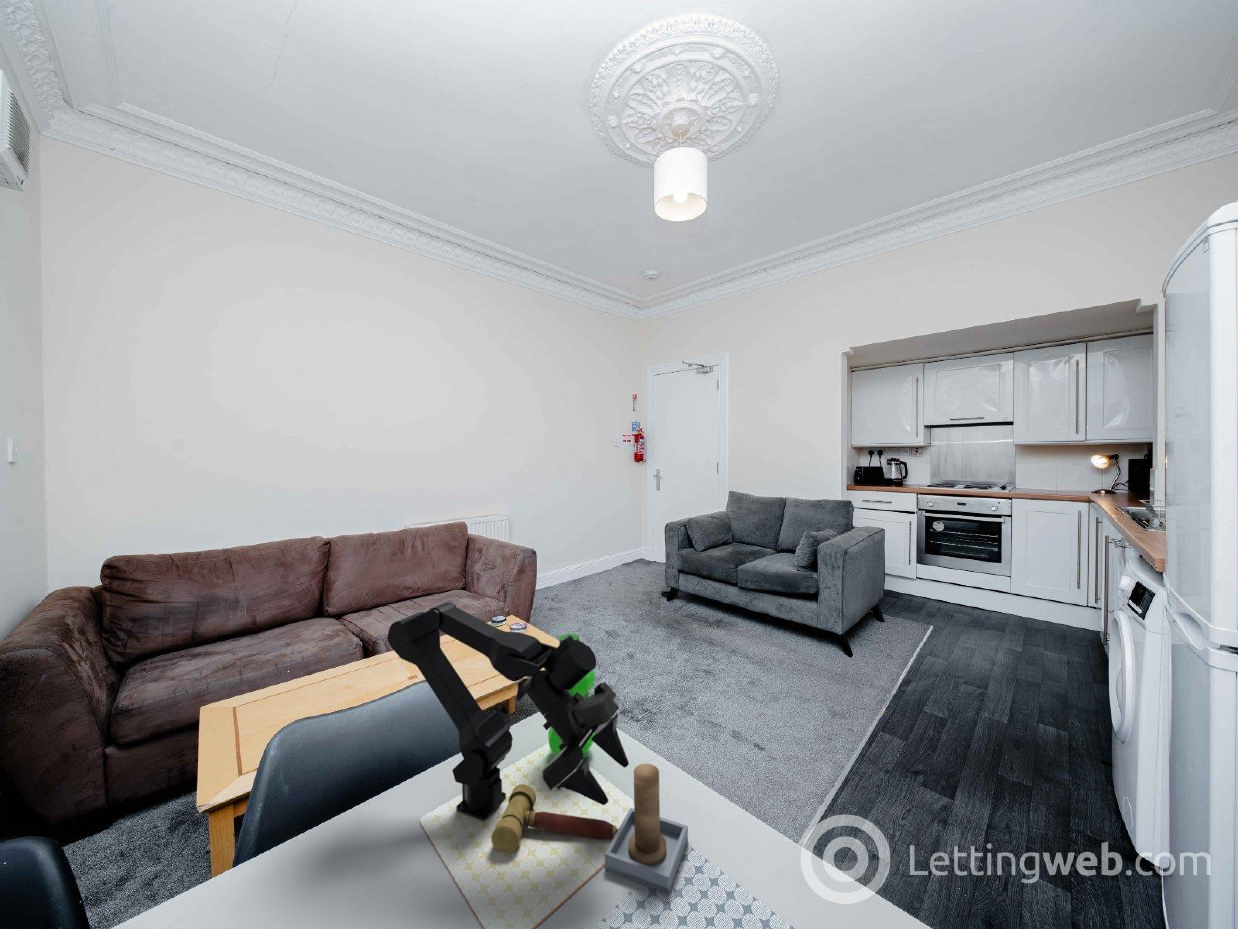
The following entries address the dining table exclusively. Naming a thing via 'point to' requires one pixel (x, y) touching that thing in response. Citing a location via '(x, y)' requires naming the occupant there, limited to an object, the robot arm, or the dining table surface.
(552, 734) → the plastic bottle
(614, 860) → the box
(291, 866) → the dining table surface
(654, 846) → the walnut handle
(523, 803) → the gavel
